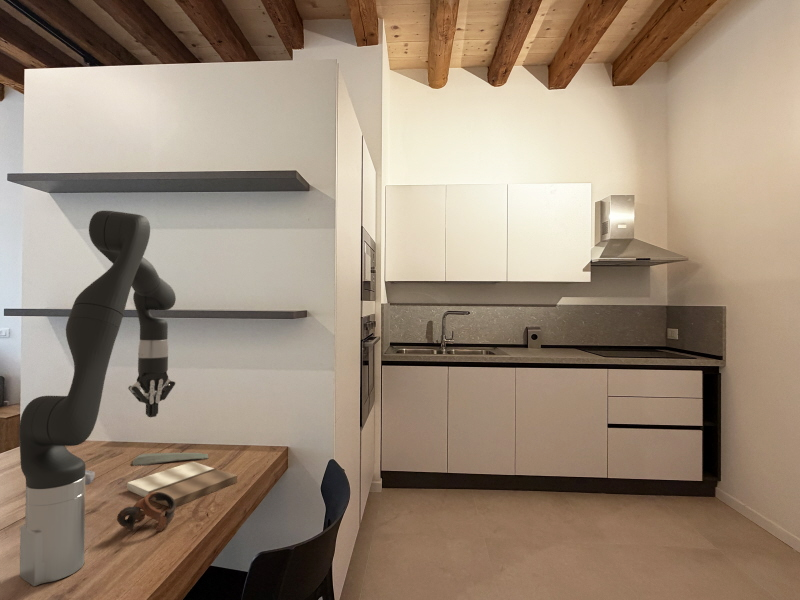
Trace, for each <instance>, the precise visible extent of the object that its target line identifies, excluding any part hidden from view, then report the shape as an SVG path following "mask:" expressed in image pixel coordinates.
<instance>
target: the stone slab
mask: <svg viewBox="0 0 800 600" xmlns="http://www.w3.org/2000/svg"><path fill="white" fill-rule="evenodd" d="M202 453H203V452H163V453H161V452H156V453H155V452H153V453H150V452H149V453H140V454H138V455H137V456H136V457H135V458H134V459H133V461H132V466H133V465H135V466H134V467H139V465H140V467H142V466H141V465H144V466H148V465H149V466H150V465H154V464H155V465H156V464H162V463H168V462H178V461H180V462H181V461H190V460H208V459H209V454H208V453H206V454H202Z"/></svg>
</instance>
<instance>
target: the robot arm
mask: <svg viewBox="0 0 800 600" xmlns="http://www.w3.org/2000/svg"><path fill="white" fill-rule="evenodd" d="M88 234H89V238H90V241H91V243H92V245H93V246H94V247H95V248H96V249H97V250H98V251H99V252H100V253H101V254H102V255H104V257H105V258H106V259H108V261H110V263H112V264H111V266H110V267H109V268H108V270H106V271H105V272H104V273H103V274H102V275H100V276H99V277H97V279H96V280H94V281H92V282H91V283H90V284H89V285H88V286H86V287H85V288H84V289H83V290H82V291H81V292H80V293H79V294H78V295H77V297H76V298H75V300H74V301H73V305H72V307H71V309H70V310H71V311H70V313H69V316H68V320H67V322H66V325H65V337H66V341H67V344H68V348H69V351H70V353H71V356H72V357H71V358H72V360H73V367H74V368H73V369H74V371H73V377H72V381H71V384H70V388H69V391H68V394H67V395H43V396H38V397H36V398H33V399H32V400H31V401H30V402H29V403H28V404H27V405H26V406H25V408H24V409H23V411H22V413H21V417H20V420H19V430H18V433H19V434H18V435H19V436H18V437H19V438H18V439H19V441H18V442H19V453H20V454H19V456H20V468H21V472H22V474H23V476H24V477H25V508H24V509H25V510H24V512H25V515H24V516H25V519H24V521H25V523H24V524H21V525H20V528H19V577H20V578H21V579H22V580H23V581H26V582H27V583H28V584H30V585H31V586H33V587H36V586H38V585H42V584H44V583H45V584H46V583H50V582H55V581H58V580H61V579H63V578H66V577H68V576H70V575H72V574H75V573H76V572H77V571H79V570H80V569H81V568H82V567H83V566H84V564H85V553H86V551H85V550H86V549H85V538H86V537H85V533H86V532H85V526H86V525H85V523H86V522H85V521H86V518H85V517H86V516H85V515H86V485H85V470H87V469H86V467H87V466H86V463H85V461H84V460H83V458H81V457H79V456H77V455H75V454H73V453H71V452H70V451H69V449H67V447H72V446H73V447H75V446H79V445H82V444H83V443H84V442H85V441H87V440H88V438H89V437H90V436H91V434H92V432H93V430H94V429H95V426H96V423H97V420H98V416H99V411H100V407H101V402H102V401H101V400H102V396H103V392H104V387H105V386H104V385H105V379H106V376H107V371H108V367H109V363H110V359H111V357H112V352H113V350H114V346H115V342H116V340H117V337H118V334H119V331H120V328H121V324H122V322H123V318H124V314H125V310H126V307H127V303H128V298H129V296H130V292H131V288H132V289H133V291H134V292H133V304H134V307H135V310H136V313H137V314H136V315H137V319H138V321H139V343H138V344H139V345H138V352H137V353H138V354H137V355H138V356H137V357H138V359H137V373H138V375H137V378H136V382H134V384H132V385H129V386H128V388H127V389H128V390H129V391H130V393H131V394H132V395H133V396H134V397H135V399H137V401H138V402H139V403H144V404H145V416H146V417H148V418H155V417H157V415H158V414H159V403H160V402H161V401H165V400H166V399H167V398H168V396H169V394H170V393H171V391H172V389H174V387H175V386H176V381H173V380H171V379H170V378H169V375H168V370H169V369H168V368H169V367H168V366H169V344H168V343H169V342H168V333H169V332H168V328H169V327H168V321H167V320H166V319H163V318H157V317H154V316H153V315H152V314H151V312H150V311H168V310H170V309H172V308H173V307H174V306H175V303H176V293H175V291H174V289H173V287H172V286H171V285H169V284H168V283H167V282H166V281H165V280H164V279H163V278H161V277H160V276H159V273H158V272H157V270H156V268H155V267H154V265H153V264H152V263H151V262H150V261H149V260H148V259H146V258H145V257H144V256H145V252H146V250H147V247H148V244H149V240H150V237H151V236H150V235H151V225H150V222H149V220H148V218H147V217H145V216H143V215H141V214H138V213H130V212H124V211H122V212H121V211H115V210H98V211H97V212H94V214H93V215H92V216H91V218H90V221H89V225H88ZM141 389H142V391H143V392H142V391H141Z"/></svg>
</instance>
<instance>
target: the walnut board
mask: <svg viewBox="0 0 800 600" xmlns="http://www.w3.org/2000/svg"><path fill="white" fill-rule="evenodd" d="M213 468H214V467H213ZM236 483H238V475H237V474H234V473H231V472H228V471H224V470H221V469H217V468H214V469H211V470H208V471H206V472H203V473H200V474H197V475H194V476H191V477H188V478H186V479H183V480H180V481H177V482H174V483H171V484H169V485H166V486H163V487H160V488H157V489H154V490H151V491H149V493H152V492H162V493H165V494H168V495H169V496H171V497H172V498H173V499H174V501H175V503H176V508H177V507H179V506H181V505H183V504H187V503H189V502H191V501H194V500H196V499H199V498H202V497H204V496H206V494H207V495H208V494H211V492H212V493H214V492H216V491H219V490H222V489H224V488H226V487H229V486H232V485H234V484H236ZM201 496H202V497H201ZM150 501H152V502H155V503H158V504H160V505H163V506H166V507H168V503H167V501H166V500H165V501H156V498H155V497H153V498H151V499H150ZM169 508H170V509H171V507H169Z"/></svg>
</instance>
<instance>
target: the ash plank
mask: <svg viewBox="0 0 800 600" xmlns="http://www.w3.org/2000/svg"><path fill="white" fill-rule="evenodd" d="M211 469H214V467H211V466H208V465H205V464H201V463H199V462H196V461H189V462H187V463H183V464H181V465H179V466H175V467H172V468H168V469H165V470H162V471H160V472H159V471H158V472H156V473H153V474H150V475H146V476H144V477H140V478H137V479H134V480H131V481H128V482H127V483H126V484H127V485H126V490H127V491H128V492H131V493H133V494H136V495H138V496H140V497H142V498H145V497H146V495H147V494H149V491H151V490H154V489H157V488H160V487H163V486H166V485H169V484H171V483H174V482H177V481H180V480H183V479H186V478H188V477H191V476H194V475H197V474H200V473H203V472H206V471H208V470H211Z"/></svg>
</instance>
